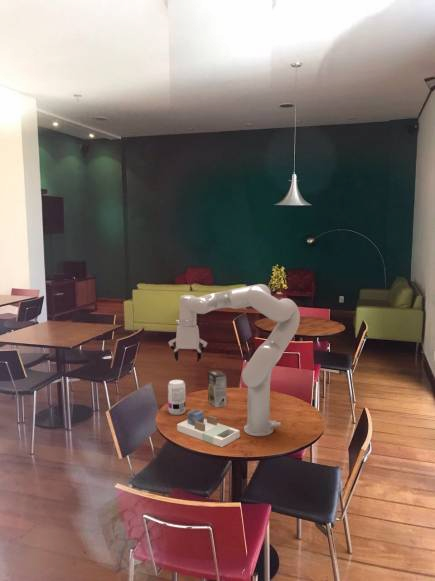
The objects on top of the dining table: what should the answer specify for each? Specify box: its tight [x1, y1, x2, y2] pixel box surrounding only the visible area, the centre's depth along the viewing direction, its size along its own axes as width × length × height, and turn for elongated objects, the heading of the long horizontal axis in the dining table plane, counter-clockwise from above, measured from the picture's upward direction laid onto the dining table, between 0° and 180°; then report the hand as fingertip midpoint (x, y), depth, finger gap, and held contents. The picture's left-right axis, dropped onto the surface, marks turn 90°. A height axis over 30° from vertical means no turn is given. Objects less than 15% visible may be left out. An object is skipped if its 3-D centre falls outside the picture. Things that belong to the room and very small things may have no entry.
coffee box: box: [207, 369, 227, 408], centre depth 234 cm, size 9×6×16 cm
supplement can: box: [167, 379, 187, 416], centre depth 224 cm, size 8×8×15 cm
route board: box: [176, 414, 241, 448], centre depth 200 cm, size 25×12×6 cm, turn 50°
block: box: [187, 408, 205, 426], centre depth 204 cm, size 5×5×5 cm
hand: (187, 360), depth 210 cm, fingers open, 9 cm apart
